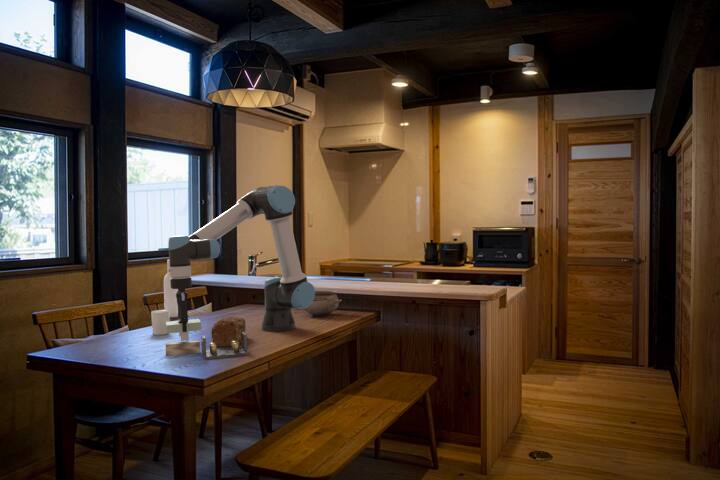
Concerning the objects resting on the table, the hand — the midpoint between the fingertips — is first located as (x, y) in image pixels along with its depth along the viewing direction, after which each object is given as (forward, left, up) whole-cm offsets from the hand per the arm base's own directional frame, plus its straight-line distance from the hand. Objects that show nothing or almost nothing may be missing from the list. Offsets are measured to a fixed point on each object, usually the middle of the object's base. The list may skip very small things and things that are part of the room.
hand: (183, 338), depth 216 cm
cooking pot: (-71, -60, -6) cm, 93 cm away
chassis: (-13, +9, -6) cm, 17 cm away
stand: (+1, 0, -6) cm, 5 cm away
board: (0, 0, +3) cm, 3 cm away
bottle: (-1, -95, -6) cm, 95 cm away
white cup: (+7, -46, -6) cm, 47 cm away
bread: (-18, -13, -6) cm, 23 cm away
